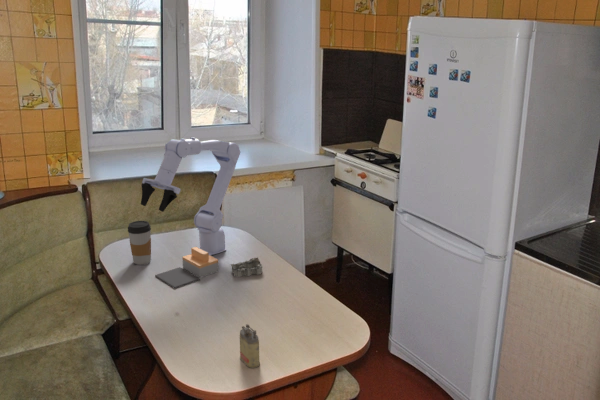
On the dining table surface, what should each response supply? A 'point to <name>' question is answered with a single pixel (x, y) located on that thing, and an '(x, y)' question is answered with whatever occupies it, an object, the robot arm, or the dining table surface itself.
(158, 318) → the dining table surface
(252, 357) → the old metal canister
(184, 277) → the mat
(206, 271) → the parts tub
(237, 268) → the grey rock
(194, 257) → the lid
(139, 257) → the coffee cup
